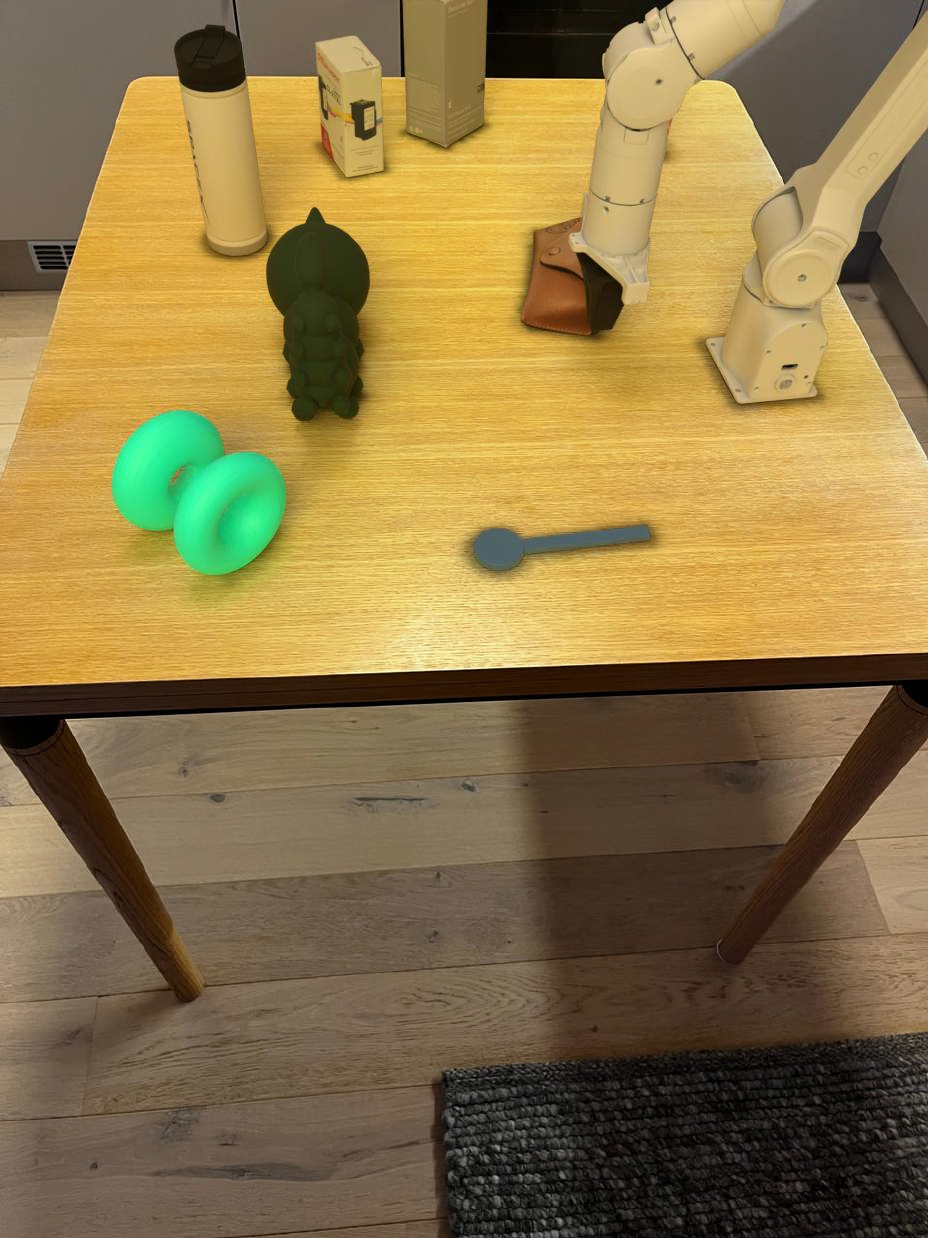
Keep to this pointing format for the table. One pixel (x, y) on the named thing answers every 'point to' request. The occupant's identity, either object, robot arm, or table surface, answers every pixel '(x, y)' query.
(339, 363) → the toy figurine
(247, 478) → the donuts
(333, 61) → the ink box
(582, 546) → the spoon
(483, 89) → the cosmetic box
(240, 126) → the travel mug
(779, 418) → the table surface
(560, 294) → the sunglasses case
